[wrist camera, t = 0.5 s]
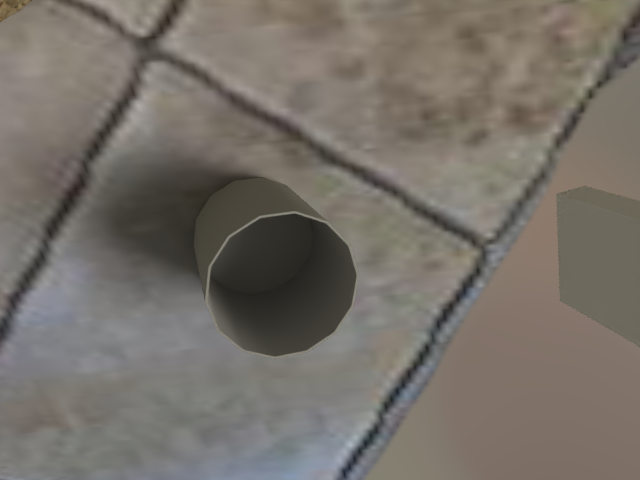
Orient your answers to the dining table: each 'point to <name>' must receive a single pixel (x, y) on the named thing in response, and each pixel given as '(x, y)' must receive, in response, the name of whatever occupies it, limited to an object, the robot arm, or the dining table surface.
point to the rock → (11, 7)
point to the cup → (272, 269)
